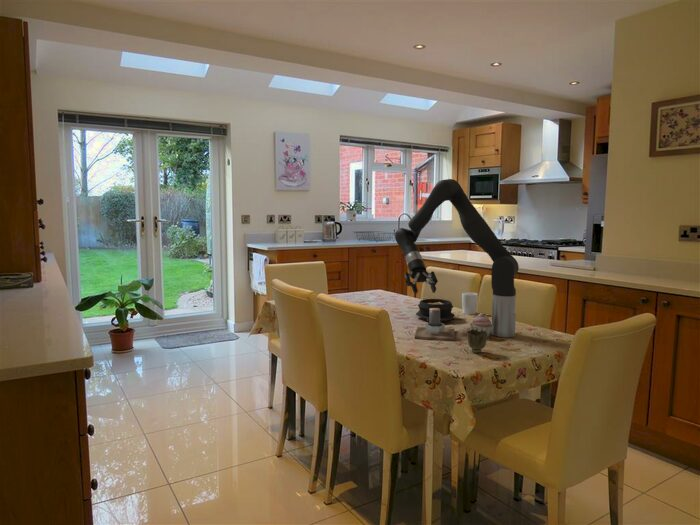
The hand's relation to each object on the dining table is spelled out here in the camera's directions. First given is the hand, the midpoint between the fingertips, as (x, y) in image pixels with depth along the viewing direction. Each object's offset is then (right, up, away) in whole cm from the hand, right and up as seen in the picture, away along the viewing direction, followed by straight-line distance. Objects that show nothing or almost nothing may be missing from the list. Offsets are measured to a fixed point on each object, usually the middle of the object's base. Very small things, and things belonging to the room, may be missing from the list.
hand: (425, 292), depth 212 cm
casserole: (+8, -14, +23) cm, 28 cm away
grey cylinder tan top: (+3, -17, -8) cm, 18 cm away
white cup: (+28, -13, +34) cm, 46 cm away
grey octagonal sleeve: (+3, -17, -8) cm, 19 cm away
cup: (+14, -21, -32) cm, 41 cm away
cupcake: (+22, -18, -9) cm, 30 cm away
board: (+3, -18, -8) cm, 19 cm away
